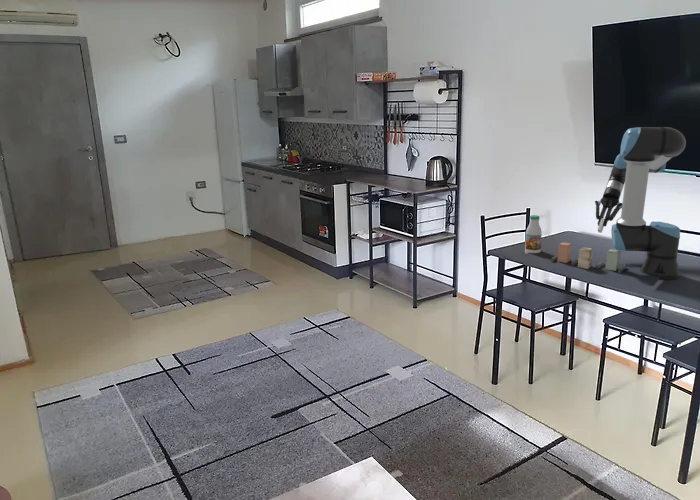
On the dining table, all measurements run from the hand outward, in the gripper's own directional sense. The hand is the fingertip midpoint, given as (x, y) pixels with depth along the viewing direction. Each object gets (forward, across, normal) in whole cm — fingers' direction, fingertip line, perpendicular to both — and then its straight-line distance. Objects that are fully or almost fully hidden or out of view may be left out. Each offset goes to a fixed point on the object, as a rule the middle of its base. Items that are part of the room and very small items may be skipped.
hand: (599, 230), depth 262 cm
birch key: (+23, 0, +4) cm, 23 cm away
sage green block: (+20, -11, +1) cm, 23 cm away
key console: (+21, 0, 0) cm, 21 cm away
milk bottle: (+14, +30, -7) cm, 34 cm away
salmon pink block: (+20, +11, +1) cm, 23 cm away
